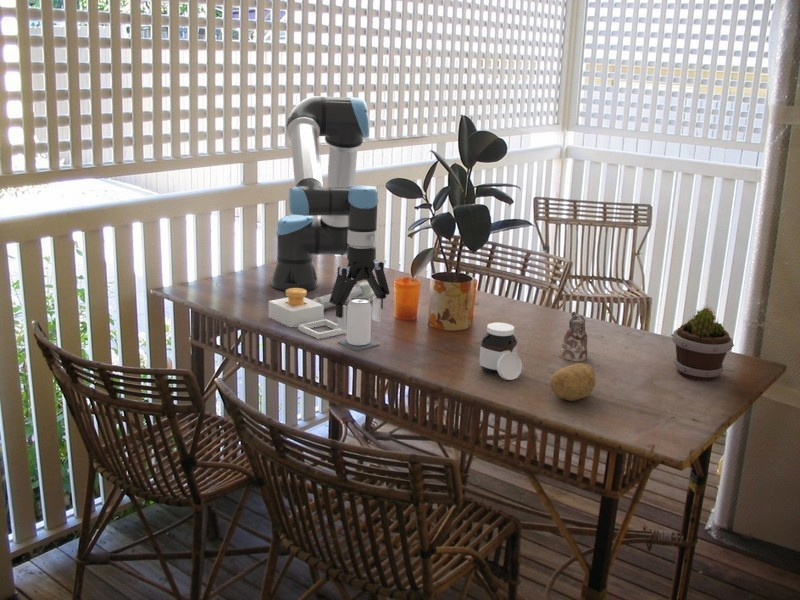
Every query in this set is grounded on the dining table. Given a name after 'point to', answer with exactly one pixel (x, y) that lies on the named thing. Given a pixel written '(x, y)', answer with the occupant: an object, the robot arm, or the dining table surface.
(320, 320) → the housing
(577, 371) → the potato
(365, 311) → the can
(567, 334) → the figurine
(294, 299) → the plunger
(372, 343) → the mat
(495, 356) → the spread jar
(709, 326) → the flowerpot
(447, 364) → the dining table surface
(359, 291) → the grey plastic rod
